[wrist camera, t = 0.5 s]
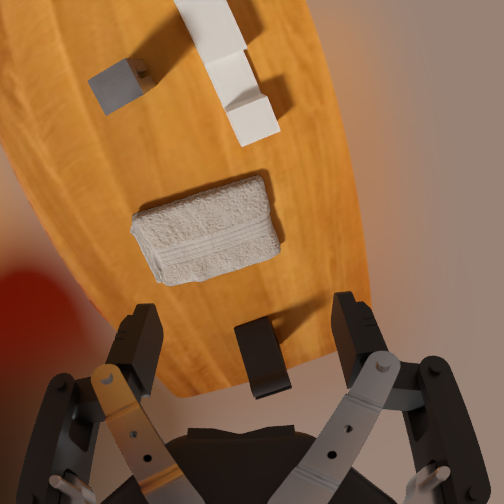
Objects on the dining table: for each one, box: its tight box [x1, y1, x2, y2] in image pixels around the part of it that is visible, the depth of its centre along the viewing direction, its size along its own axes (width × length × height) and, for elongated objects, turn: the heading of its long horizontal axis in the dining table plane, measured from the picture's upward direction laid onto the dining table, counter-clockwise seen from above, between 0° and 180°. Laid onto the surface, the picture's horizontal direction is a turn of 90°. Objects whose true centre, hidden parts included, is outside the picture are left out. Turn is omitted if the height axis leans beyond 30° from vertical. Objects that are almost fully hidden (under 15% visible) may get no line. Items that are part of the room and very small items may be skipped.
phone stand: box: [234, 317, 292, 400], centre depth 51 cm, size 9×6×12 cm, turn 17°
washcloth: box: [130, 175, 281, 286], centre depth 41 cm, size 12×18×3 cm, turn 104°
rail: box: [174, 0, 280, 147], centre depth 23 cm, size 28×4×10 cm, turn 21°
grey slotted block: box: [88, 58, 156, 116], centre depth 25 cm, size 4×4×10 cm
